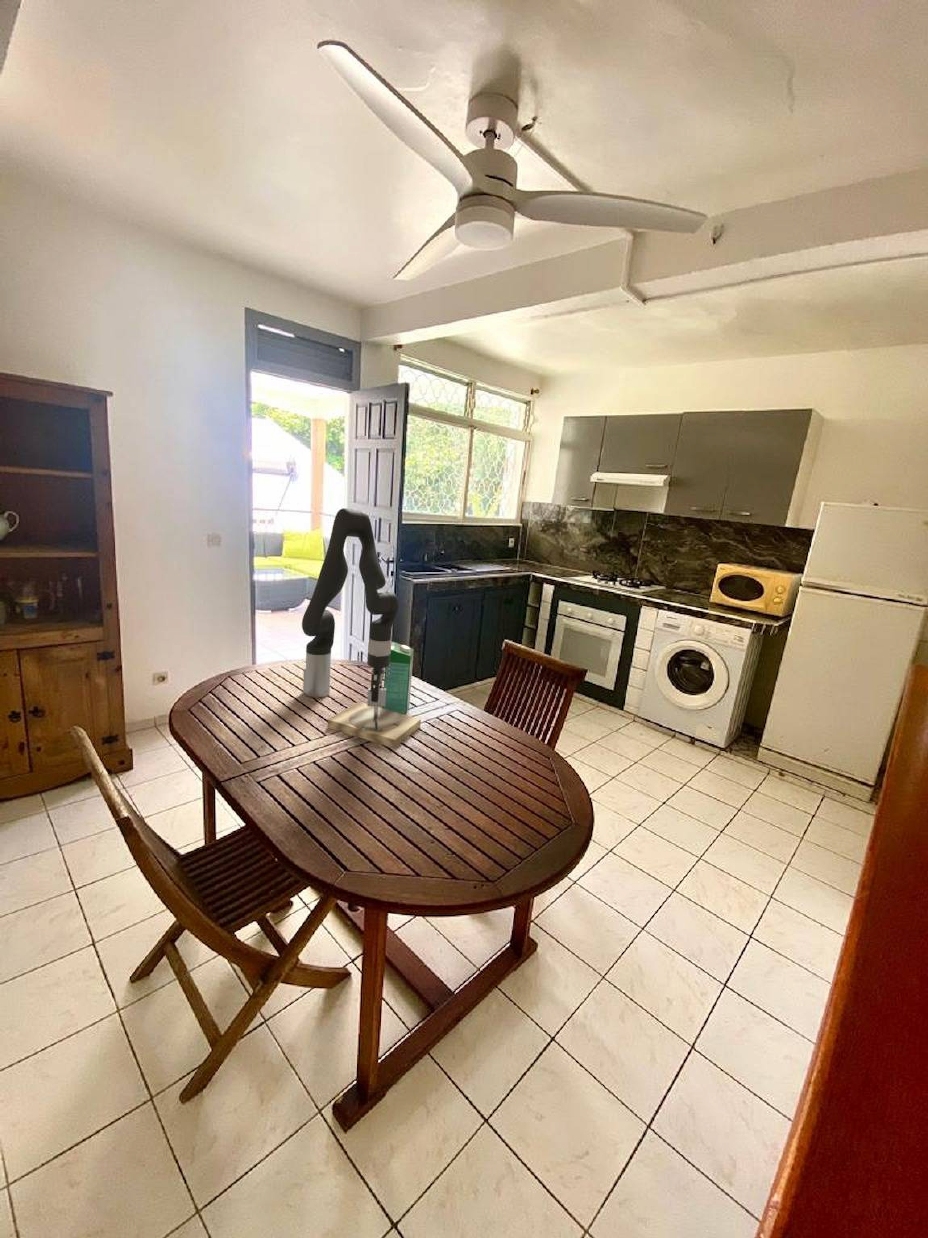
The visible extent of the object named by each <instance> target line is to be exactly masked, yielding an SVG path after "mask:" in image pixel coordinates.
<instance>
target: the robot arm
mask: <svg viewBox="0 0 928 1238" xmlns="http://www.w3.org/2000/svg"><path fill="white" fill-rule="evenodd" d="M331 528H332V529H331V533H330V538H329V543H328V547H327V550H326V554H325V557H324V560H323V563H322V565H321V567H320V568H321V569H320V571H319V574H318V579H317V582H316V584H315V587H314V590H313V593H312V597H311V599H310V601H309V603H308V605H307V608H306V609H305V611H304V614H303V617H302V622H301V628H302V631H303V634H305V636H308V637H313V638H312V640H310V641H309V642H308V643H307V644H306V646H305V652H306V653H305V668H304V669H303V675H302V677H303V682H302V683H303V684H302V693H303V694H305V695H306V696H307V697H310V698H316V699H317V698H324V697H327V696H329V695H330V693H331V690H330V689H331V668H332V667H331V659H332V648H333V646H334V640H335V630H336V629H335V628H336V623H335V617H334V615H333V613H332V612H331V611H330V610H328V609H326V608H327V607H328V605H329V604H330V603H331V602H332V601H333V600H334V599H335V598H336V597H337V596H338V594H339V593H340V592H341V591H342V590H343V588H344V585H345V583H346V579H347V577H348V574H349V567H348V563H347V558H346V557H345V556H346V555H345V552H344V547H345V543H346V540H347V537H349V538H352V537H353V538H358V539H359V541H360V545H361V553H360V557H359V562H358V568H359V569H358V570H359V573H360V576H361V580H362V582H363V584H364V593H365V595H364V596H365V607H366V609H367V611H368V612H369V613H370V614H371V615H374V616H380V615H381V616H380V617H379V618H377V619H375V620H373V621H372V622H371V623H370V625H369V639H368V640H369V641H368V643H367V646H368V647H367V660H366V662H367V665H368V667H371V668H372V670H371V673H370V674H371V675H370V676H371V679H370V688H371V689H370V691H371V692H372V696H371V701H372V702H378V695H379V688H383V687H382V685H383V684H382V683H383V681H384V678H385V668H386V667H388V666H389V665H390V655H391V641H392V631H393V630H392V629H393V626H394V624H395V623H394V622H395V620H396V617H397V614H398V612H399V608H400V602H399V597H398V596H397V594H395V593H394V592H378V590H381V589H383V588H384V587H385V585H386V583H387V581H386V577H385V575H384V572H383V569H382V567H381V564H380V561H379V558H378V554H377V549H376V542H375V538H374V537H375V536H374V532H373V527H372V522H371V519H370V517H369V514H368V513H367V512H365V511H363V510H359V509H353V508H346V507H345V508H344V507H343V508H341V509H339V510H338V511H337V513H336V515H335V517H334V520H333V525H332V527H331Z"/></svg>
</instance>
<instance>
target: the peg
mask: <svg viewBox="0 0 928 1238" xmlns="http://www.w3.org/2000/svg"><path fill="white" fill-rule="evenodd" d="M370 689H371V687H368V688H367V703H366V704H367V706H374V717H373V718H374V719H375V729H378V725H377V718H378V707H383V706H385V702H386V688H384V687H381V688H379V695H378V702H372V701H371V696H372V692H371V691H370Z"/></svg>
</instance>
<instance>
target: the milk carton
mask: <svg viewBox="0 0 928 1238" xmlns="http://www.w3.org/2000/svg"><path fill="white" fill-rule="evenodd" d="M414 651H415V649H414V648H412V647H410V646H408V645H405V644H400V643H398V642H396V641H392V640H391V655H390V665H389V666H388V667H386V668H384V670H385V671H384V678H383V688H386V702H385V706H382V708H383V709H387V710H391V711H394V712H397V713H401V714H404V715H407V714H408V710H409V707H410V703H411V702H410V701H411V687H412V676H413V664H414Z"/></svg>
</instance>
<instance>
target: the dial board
mask: <svg viewBox="0 0 928 1238" xmlns="http://www.w3.org/2000/svg"><path fill="white" fill-rule="evenodd" d="M373 717H374V706H367V703H365V702H361V701H357V702H356V703H355V702H354V703H353V704H351V705H350V706H348V707H347V708H345V709H344V710H342V711H340V712H339V713H336V714H334V715H333V716H332V717H330V718H328V719H327V728H328V729H331V730H334V731H338V732H341V733H345V734H347V735H351V736H354V737H357V738H360V739H364V740H367V741H370V742H371V743H372V742H373V743H376V744H380V745H382V746H386V747H388V748H390V749H395V748H397V747H398V746H400V744H401V743H403V742H404V741H405V740H407V739H408V738H409V737H410V736H411V735H412V734H414V733H415V732H416V731H417V730H419V729H420V728H421V723H422V719H421V718H418V717H415V716H411V715H407V714H403V713H397V712H394V711H391V710H387V709H383V707H381V706H378V718H377V725H378V729H375V719H374V718H373Z"/></svg>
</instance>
